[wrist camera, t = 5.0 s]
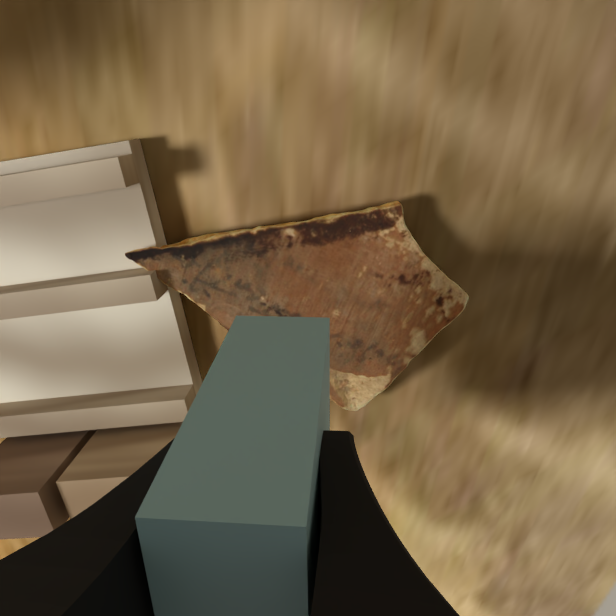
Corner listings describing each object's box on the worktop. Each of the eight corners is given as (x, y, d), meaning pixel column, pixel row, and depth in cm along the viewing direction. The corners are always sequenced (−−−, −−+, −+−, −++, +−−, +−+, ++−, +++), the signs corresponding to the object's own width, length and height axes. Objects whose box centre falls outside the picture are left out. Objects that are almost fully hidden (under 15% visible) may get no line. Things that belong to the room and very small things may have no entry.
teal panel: (251, 512, 17) (187, 780, 10) (236, 315, 14) (134, 517, 8) (329, 517, 17) (312, 792, 10) (329, 317, 14) (306, 527, 7)
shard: (138, 246, 20) (119, 257, 19) (252, 77, 18) (243, 73, 16) (351, 404, 22) (352, 427, 20) (481, 269, 20) (493, 283, 18)
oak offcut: (105, 419, 23) (55, 482, 19) (189, 412, 22) (155, 474, 18) (118, 457, 23) (73, 525, 20) (199, 451, 23) (169, 519, 19)
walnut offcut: (17, 427, 23) (-58, 499, 19) (96, 420, 23) (37, 492, 18) (32, 464, 24) (-37, 541, 20) (109, 458, 23) (56, 535, 19)
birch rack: (-79, 175, 20) (-127, 183, 18) (139, 138, 19) (113, 142, 17) (48, 485, 25) (21, 519, 23) (225, 472, 24) (213, 506, 22)
